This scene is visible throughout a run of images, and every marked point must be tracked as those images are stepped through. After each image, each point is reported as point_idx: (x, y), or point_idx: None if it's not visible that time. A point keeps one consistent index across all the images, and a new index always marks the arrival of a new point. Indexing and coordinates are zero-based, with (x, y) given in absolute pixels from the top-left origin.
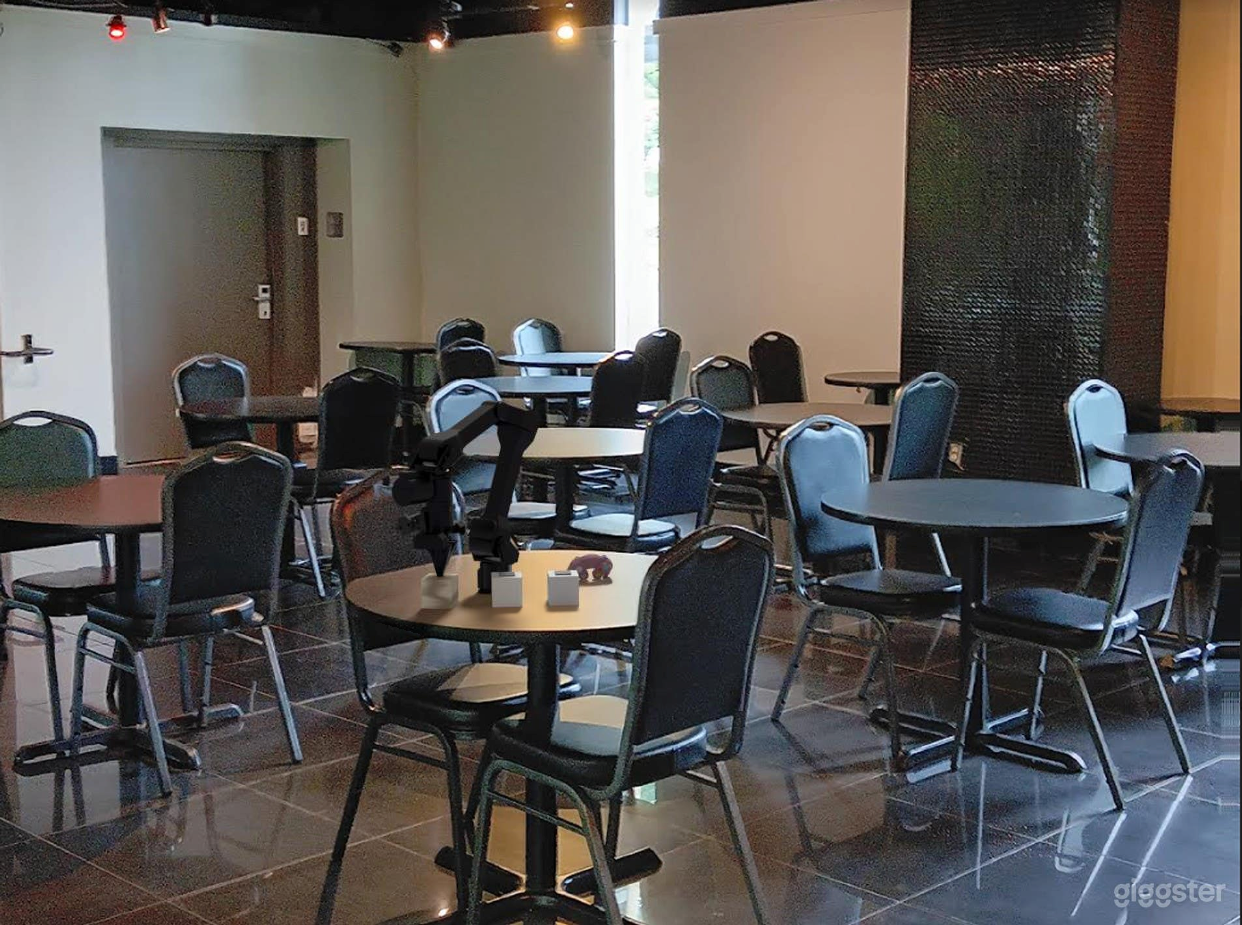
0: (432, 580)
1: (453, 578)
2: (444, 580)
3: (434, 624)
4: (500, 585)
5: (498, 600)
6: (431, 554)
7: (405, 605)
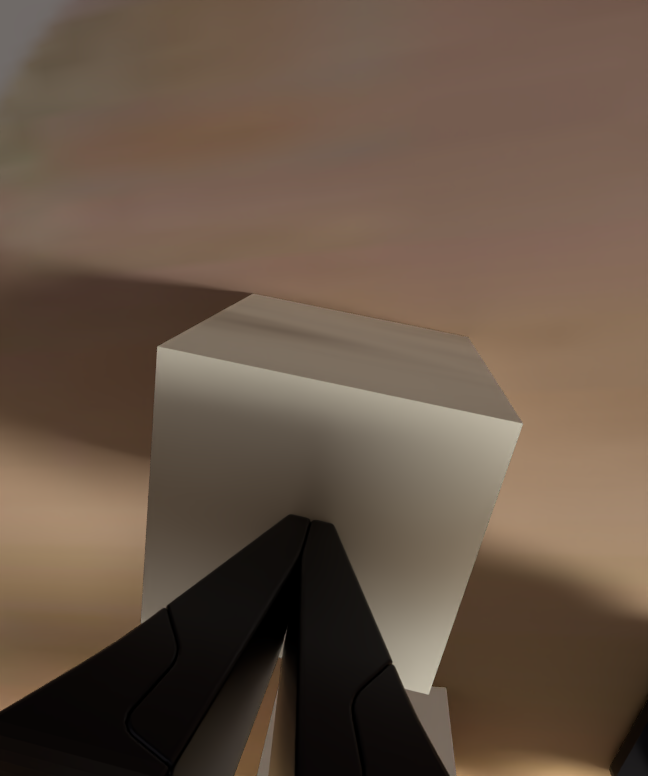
0: (156, 462)
1: None
2: (146, 571)
3: None
4: None
5: None
6: (15, 728)
7: (351, 150)
